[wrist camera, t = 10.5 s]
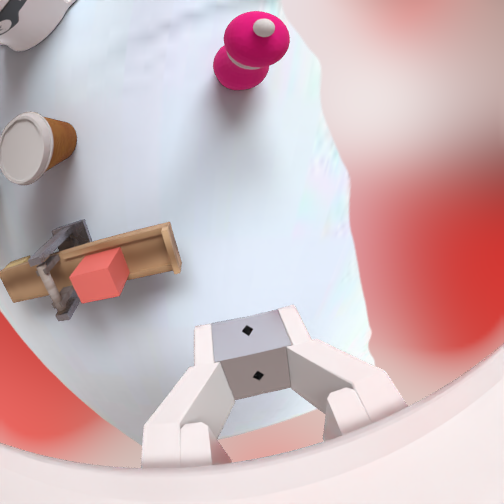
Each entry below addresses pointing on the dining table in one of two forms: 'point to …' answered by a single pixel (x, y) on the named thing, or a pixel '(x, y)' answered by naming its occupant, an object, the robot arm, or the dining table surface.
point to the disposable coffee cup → (34, 146)
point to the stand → (63, 240)
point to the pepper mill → (250, 49)
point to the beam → (65, 262)
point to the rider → (100, 275)
